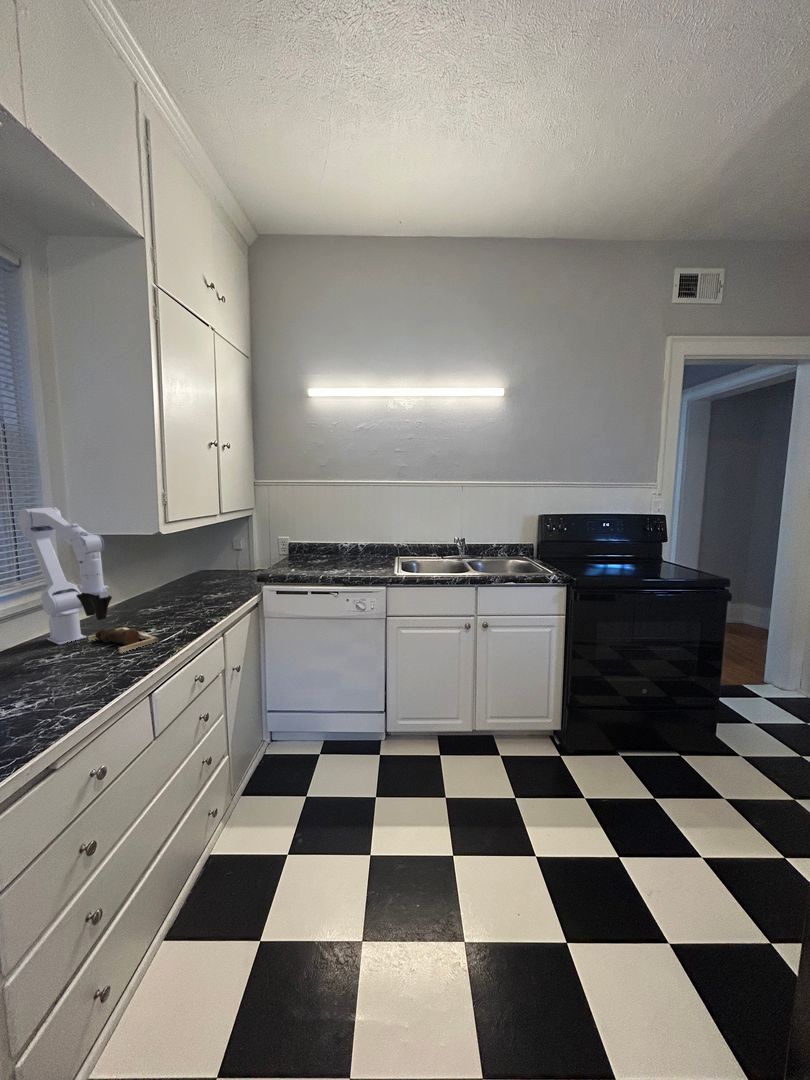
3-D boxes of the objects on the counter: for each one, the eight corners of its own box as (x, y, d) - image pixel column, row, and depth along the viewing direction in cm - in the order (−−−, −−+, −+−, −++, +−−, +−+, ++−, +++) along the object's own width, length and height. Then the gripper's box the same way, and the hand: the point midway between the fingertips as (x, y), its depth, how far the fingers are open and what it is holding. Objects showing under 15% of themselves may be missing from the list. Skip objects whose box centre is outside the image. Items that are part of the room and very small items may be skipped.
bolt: (103, 644, 155) (135, 648, 149) (89, 641, 151) (122, 645, 145) (109, 627, 157) (142, 630, 151) (95, 623, 153) (128, 626, 147)
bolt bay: (88, 640, 153) (87, 636, 153) (124, 631, 162) (124, 626, 162) (121, 653, 141) (120, 648, 141) (158, 642, 150) (157, 637, 150)
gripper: (116, 574, 144) (120, 617, 146) (95, 569, 152) (99, 610, 154) (90, 578, 138) (95, 623, 140) (70, 573, 146) (75, 615, 148)
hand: (96, 617), depth 146 cm, fingers open, 7 cm apart
